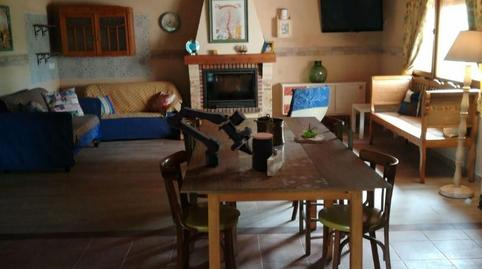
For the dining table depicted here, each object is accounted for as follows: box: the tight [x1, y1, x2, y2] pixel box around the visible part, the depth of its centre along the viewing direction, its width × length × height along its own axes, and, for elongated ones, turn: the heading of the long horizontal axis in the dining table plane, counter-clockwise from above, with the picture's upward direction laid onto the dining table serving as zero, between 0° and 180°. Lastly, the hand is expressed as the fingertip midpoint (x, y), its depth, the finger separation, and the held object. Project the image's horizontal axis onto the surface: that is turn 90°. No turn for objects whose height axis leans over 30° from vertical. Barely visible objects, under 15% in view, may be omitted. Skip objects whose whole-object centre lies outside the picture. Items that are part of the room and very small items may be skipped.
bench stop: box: [266, 148, 284, 177], centre depth 238 cm, size 3×20×11 cm, turn 162°
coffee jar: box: [251, 132, 274, 173], centre depth 239 cm, size 11×11×18 cm
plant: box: [293, 122, 326, 144], centre depth 303 cm, size 20×20×11 cm
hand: (252, 154), depth 241 cm, fingers closed, pressing on coffee jar
